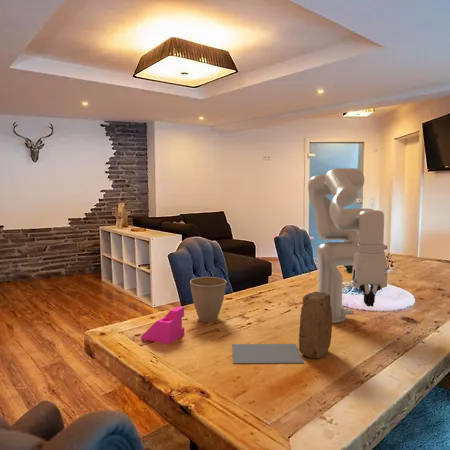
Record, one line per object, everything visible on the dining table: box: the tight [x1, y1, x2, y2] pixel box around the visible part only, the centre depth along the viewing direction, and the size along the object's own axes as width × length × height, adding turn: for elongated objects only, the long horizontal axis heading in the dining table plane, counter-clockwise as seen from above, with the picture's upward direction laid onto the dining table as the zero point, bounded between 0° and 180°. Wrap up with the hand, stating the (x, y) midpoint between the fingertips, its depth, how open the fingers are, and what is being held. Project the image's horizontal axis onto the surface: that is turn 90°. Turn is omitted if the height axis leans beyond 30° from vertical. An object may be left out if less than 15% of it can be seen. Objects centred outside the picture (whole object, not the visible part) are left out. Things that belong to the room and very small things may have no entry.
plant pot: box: [189, 276, 227, 323], centre depth 159 cm, size 15×15×16 cm
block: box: [298, 291, 333, 359], centre depth 126 cm, size 11×8×20 cm
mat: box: [231, 343, 305, 365], centre depth 127 cm, size 22×14×1 cm, turn 91°
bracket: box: [140, 306, 185, 345], centre depth 142 cm, size 12×10×10 cm
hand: (369, 305), depth 125 cm, fingers closed
